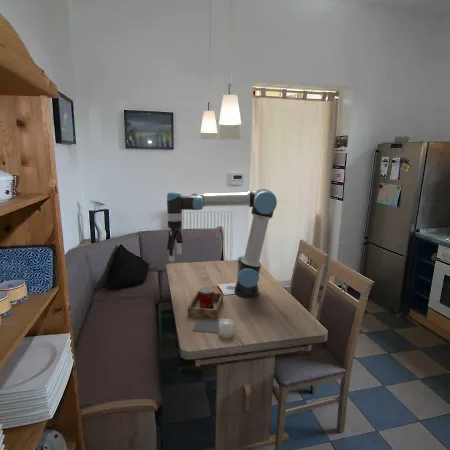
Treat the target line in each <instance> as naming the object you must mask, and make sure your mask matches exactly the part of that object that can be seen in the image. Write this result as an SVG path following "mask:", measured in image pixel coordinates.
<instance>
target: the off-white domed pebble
mask: <svg viewBox="0 0 450 450" xmlns="http://www.w3.org/2000/svg"><path fill="white" fill-rule="evenodd" d="M219 320H220V321H219V331H218V337H220V338H223V339H231V338H232V337H234V335H235V334H234V333H235V331H234V330H235V321H234V320H233V319H230V318H223V319H219Z"/></svg>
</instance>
